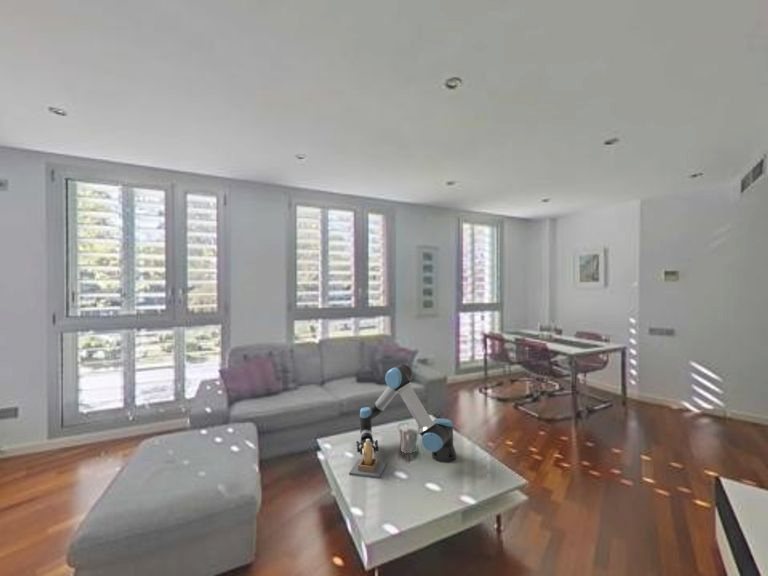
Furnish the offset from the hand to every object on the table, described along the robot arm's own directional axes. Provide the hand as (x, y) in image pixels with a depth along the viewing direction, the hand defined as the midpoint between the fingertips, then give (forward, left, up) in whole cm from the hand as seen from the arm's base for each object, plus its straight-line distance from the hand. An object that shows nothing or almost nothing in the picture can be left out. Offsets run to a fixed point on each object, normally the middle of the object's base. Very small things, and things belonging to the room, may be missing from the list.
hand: (368, 455), depth 209 cm
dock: (+2, -5, -11) cm, 12 cm away
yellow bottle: (+2, -5, -8) cm, 10 cm away
